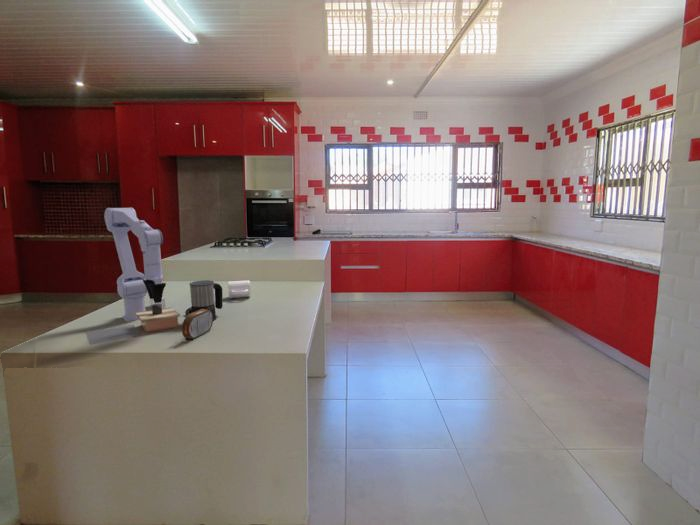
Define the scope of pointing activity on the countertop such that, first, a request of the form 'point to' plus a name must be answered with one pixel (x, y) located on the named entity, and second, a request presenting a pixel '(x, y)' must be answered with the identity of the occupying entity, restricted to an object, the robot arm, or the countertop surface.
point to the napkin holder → (158, 303)
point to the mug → (239, 289)
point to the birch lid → (157, 313)
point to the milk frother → (205, 296)
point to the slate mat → (112, 334)
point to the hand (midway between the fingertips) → (155, 300)
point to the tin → (197, 323)
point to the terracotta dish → (160, 324)
